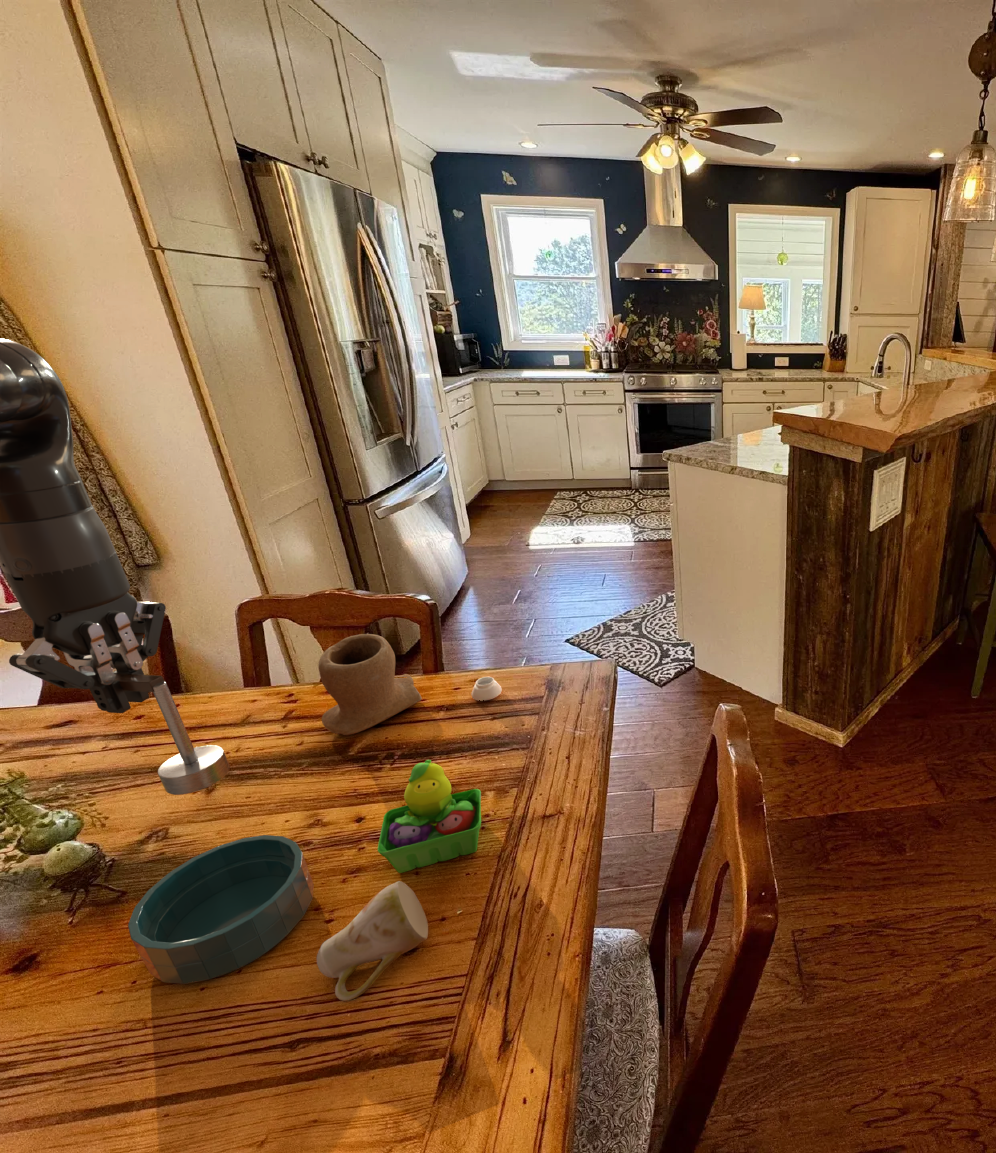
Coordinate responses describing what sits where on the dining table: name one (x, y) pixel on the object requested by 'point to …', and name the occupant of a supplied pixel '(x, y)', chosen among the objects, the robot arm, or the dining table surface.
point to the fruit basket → (430, 821)
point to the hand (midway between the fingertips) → (128, 705)
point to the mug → (374, 937)
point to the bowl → (222, 909)
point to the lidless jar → (486, 689)
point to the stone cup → (363, 684)
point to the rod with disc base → (179, 742)
